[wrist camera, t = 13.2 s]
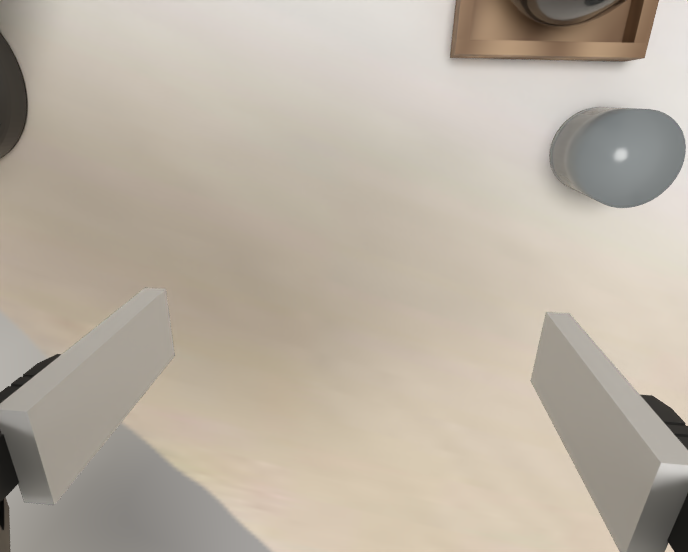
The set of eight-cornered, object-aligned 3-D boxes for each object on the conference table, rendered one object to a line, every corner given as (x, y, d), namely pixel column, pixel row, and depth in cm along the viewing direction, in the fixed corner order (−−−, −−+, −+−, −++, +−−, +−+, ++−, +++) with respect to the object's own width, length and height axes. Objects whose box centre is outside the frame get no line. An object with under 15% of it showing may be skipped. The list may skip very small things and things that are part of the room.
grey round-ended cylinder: (544, 190, 40) (574, 208, 34) (555, 108, 38) (590, 110, 31) (625, 189, 40) (672, 207, 33) (642, 105, 37) (696, 107, 31)
